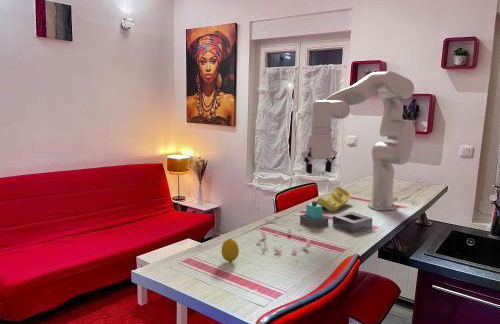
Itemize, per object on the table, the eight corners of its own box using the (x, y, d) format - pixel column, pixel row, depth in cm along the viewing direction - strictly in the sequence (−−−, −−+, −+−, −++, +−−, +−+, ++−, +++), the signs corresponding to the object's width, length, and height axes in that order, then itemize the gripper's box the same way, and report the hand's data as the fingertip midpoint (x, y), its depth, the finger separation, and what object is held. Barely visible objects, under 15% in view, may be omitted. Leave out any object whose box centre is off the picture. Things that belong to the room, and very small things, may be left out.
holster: (313, 218, 162) (313, 212, 161) (328, 224, 154) (328, 217, 154) (300, 221, 158) (300, 215, 158) (314, 228, 150) (314, 221, 150)
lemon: (225, 267, 116) (224, 243, 115) (219, 260, 121) (219, 237, 120) (241, 264, 118) (241, 240, 117) (235, 257, 123) (234, 234, 122)
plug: (313, 220, 160) (313, 199, 158) (321, 224, 155) (322, 202, 153) (306, 222, 157) (306, 200, 156) (314, 226, 153) (315, 203, 151)
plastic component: (335, 208, 170) (317, 195, 174) (329, 220, 173) (311, 208, 178) (353, 195, 185) (336, 184, 190) (347, 207, 189) (330, 196, 193)
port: (351, 220, 159) (351, 211, 159) (371, 227, 150) (372, 218, 150) (332, 225, 154) (333, 215, 153) (352, 233, 145) (353, 223, 144)
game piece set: (246, 242, 137) (246, 232, 136) (287, 231, 148) (287, 222, 147) (280, 261, 121) (280, 250, 120) (323, 246, 133) (323, 236, 132)
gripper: (332, 130, 158) (329, 169, 161) (298, 130, 150) (296, 172, 153) (343, 131, 151) (341, 172, 154) (308, 132, 144) (306, 175, 146)
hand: (318, 172), depth 153 cm, fingers open, 9 cm apart
